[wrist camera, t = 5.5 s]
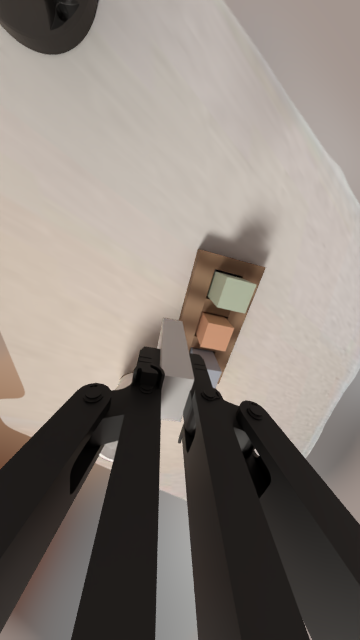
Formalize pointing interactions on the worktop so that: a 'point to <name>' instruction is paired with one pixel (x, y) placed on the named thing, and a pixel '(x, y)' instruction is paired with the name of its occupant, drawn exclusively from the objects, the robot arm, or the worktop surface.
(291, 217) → the worktop surface
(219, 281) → the sage green block
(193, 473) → the robot arm
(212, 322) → the terracotta toy cube
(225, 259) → the brown board
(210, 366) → the blue-gray block
